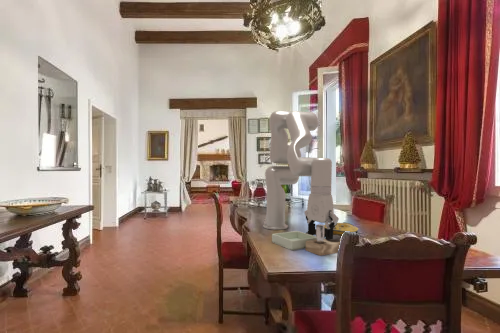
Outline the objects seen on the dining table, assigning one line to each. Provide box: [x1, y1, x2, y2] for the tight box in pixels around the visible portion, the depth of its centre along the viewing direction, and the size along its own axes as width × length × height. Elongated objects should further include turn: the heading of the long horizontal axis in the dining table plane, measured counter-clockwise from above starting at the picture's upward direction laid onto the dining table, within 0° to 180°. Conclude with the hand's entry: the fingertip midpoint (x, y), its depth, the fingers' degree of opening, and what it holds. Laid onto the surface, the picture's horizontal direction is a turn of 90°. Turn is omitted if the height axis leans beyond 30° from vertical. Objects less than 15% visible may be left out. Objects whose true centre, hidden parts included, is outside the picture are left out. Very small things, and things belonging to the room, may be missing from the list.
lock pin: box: [315, 223, 325, 244], centre depth 118 cm, size 3×3×10 cm
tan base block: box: [305, 235, 342, 256], centre depth 120 cm, size 14×8×5 cm, turn 120°
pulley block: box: [305, 221, 364, 239], centre depth 146 cm, size 14×6×30 cm
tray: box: [271, 230, 316, 251], centre depth 129 cm, size 14×14×4 cm
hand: (320, 236), depth 118 cm, fingers open, 9 cm apart
